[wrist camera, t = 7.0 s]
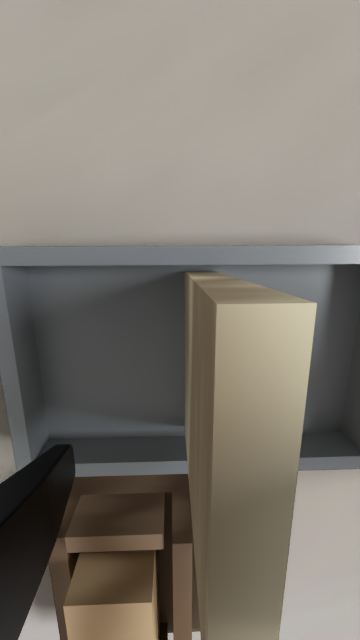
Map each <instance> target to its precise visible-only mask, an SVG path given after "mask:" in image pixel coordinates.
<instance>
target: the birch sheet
mask: <svg viewBox="0 0 360 640" xmlns="http://www.w3.org/2000/svg"><path fill="white" fill-rule="evenodd" d="M316 309H317V303H315V302H312V301H309V300H305V299H302V298H299V297H296V296H293V295H289V294H286V293H283V292H280V291H277V290H274V289H270V288H267V287H264V286H261V285H258V284H255V283H251V282H248V281H245V280H242V279H239V278H235V277H232V276H229V275H226V274H223V273H220V272H216V271H185V438H186V451H187V464H188V477H189V490H190V503H191V516H192V529H193V542H194V555H195V567H196V580H197V593H198V606H199V619H200V632H201V640H279V632H280V624H281V615H282V606H283V597H284V589H285V580H286V571H287V562H288V554H289V545H290V536H291V527H292V519H293V510H294V501H295V492H296V484H297V475H298V466H299V457H300V449H301V440H302V431H303V422H304V414H305V405H306V396H307V387H308V379H309V370H310V361H311V352H312V344H313V335H314V326H315V317H316Z"/></svg>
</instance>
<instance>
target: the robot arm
mask: <svg viewBox="0 0 360 640" xmlns="http://www.w3.org/2000/svg"><path fill="white" fill-rule="evenodd" d="M74 478H75V460H74V451H73V446H72V445H71V444H56V445H54V446H53V447H51V448H50V449H49V450H47V451H46V452H44V453H43V454H41V455H40V456H39V457H37V458H36V459H34V460H33V461H32V462H30V463H29V464H27V465H26V466H25V467H23V468H22V469H20V470H19V471H18V472H16V473H15V474H13V475H12V476H10V477H9V478H8V479H6V480H5V481H3V482H2V483H1V484H0V640H18V638H19V635H20V633H21V630H22V628H23V625H24V623H25V620H26V618H27V615H28V613H29V610H30V607H31V605H32V602H33V600H34V597H35V595H36V592H37V590H38V587H39V585H40V582H41V579H42V577H43V574H44V572H45V569H46V567H47V564H48V562H49V559H50V556H51V554H52V551H53V548H54V546H55V543H56V540H57V537H58V534H59V530H60V527H61V523H62V520H63V516H64V513H65V510H66V506H67V503H68V499H69V496H70V492H71V489H72V485H73V482H74Z"/></svg>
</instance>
